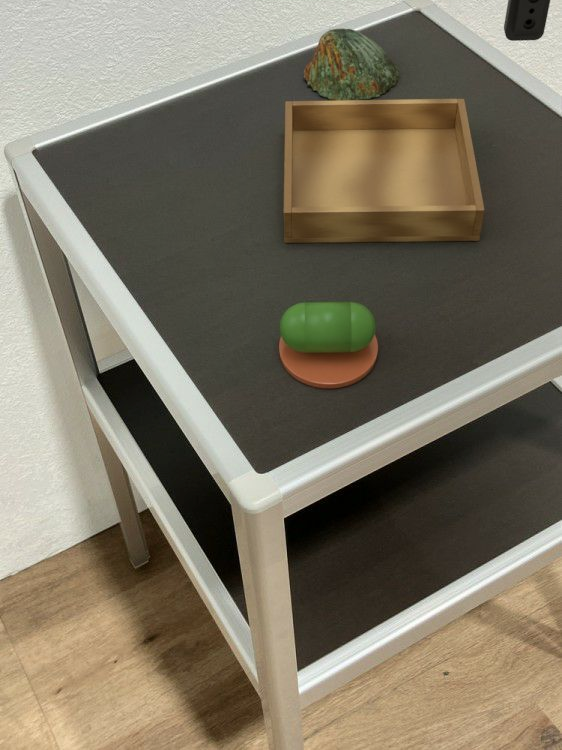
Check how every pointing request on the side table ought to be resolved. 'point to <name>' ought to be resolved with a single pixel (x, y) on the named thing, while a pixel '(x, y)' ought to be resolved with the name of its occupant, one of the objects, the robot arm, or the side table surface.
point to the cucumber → (327, 327)
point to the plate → (329, 365)
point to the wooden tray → (380, 172)
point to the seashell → (350, 67)
